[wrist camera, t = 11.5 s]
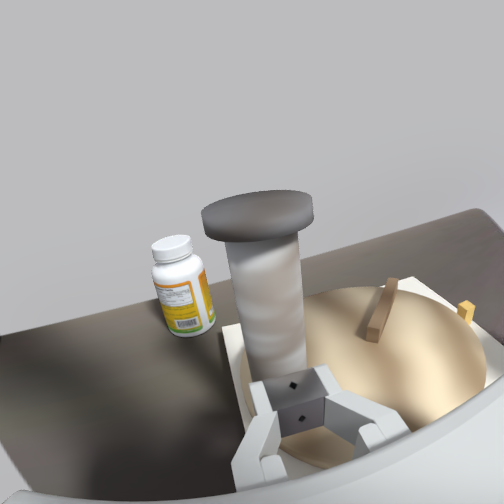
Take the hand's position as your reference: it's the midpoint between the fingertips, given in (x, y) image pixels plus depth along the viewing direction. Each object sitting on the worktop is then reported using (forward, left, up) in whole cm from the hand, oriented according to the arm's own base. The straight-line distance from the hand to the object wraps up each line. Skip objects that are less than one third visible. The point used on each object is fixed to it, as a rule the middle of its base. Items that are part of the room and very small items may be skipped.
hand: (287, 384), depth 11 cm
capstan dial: (+8, +7, -8) cm, 13 cm away
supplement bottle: (-5, +21, -10) cm, 24 cm away
